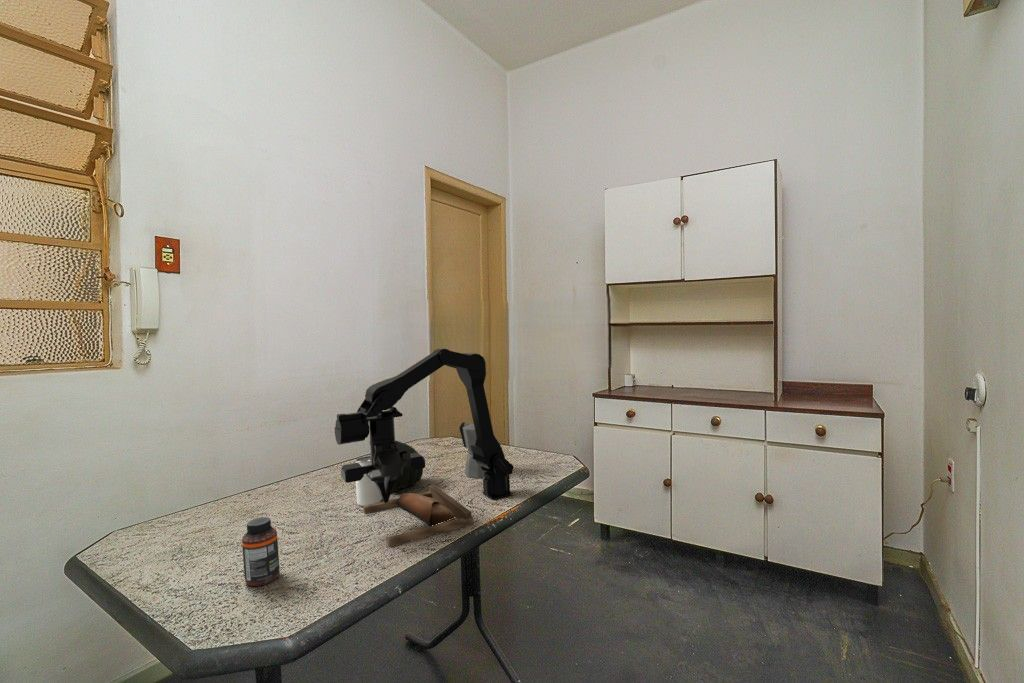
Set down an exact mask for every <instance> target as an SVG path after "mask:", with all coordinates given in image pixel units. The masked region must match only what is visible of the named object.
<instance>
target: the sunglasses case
mask: <svg viewBox="0 0 1024 683" xmlns="http://www.w3.org/2000/svg"><path fill="white" fill-rule="evenodd" d="M419 494H420V493H411V492H410V493H409V492H407V493H402V494H401V495H400V496H399V499H398V505H399V506H398V507H400V508H402V509H404V510H406V511H409V512H410V513H411V514H413V515H414V516H416V517H417V518H419V519H420V520H422V521H423V522H425V523H427V525H429V526H432V525H436V524H438V523H441V522H443V523H445V522H444V521H446V522H448V521H447V520H449V519H452V518H454V517H455V515H454V513H453V512H452V511H450V510H449V509H448V508H446V507H445V506H443V505H441V504H440V503H438V501H437V500H435V499H433V498H430V497H426V496H423V495H419ZM454 519H455V518H454ZM452 520H453V519H452ZM449 521H450V520H449Z"/></svg>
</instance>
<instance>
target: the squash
mask: <svg viewBox="0 0 1024 683" xmlns="http://www.w3.org/2000/svg"><path fill="white" fill-rule="evenodd" d="M395 442H396V445H397V450H398V452H400V451H405V450H409V452H410V453H418V454H419V452H418V451H417V450H416V449H415V448H414V447H413V446H411V445H409V444H406V443H403V442H401V441H398V440H396V439H395ZM423 473H424V468H422V469H417V470H413V469H412V468H411V467H410V466H407V467H403V470H402V475H401V476H399V477H398V478H397V479H396V480H395V482H394V485H393V487H392V491H391V492H397V491H398V490H400V489H402V488H407V487H412V486H414V485H416V484H417V483H418V482H419V481H420V480H421V479H422V476H423Z"/></svg>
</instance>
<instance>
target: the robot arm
mask: <svg viewBox="0 0 1024 683" xmlns="http://www.w3.org/2000/svg"><path fill="white" fill-rule="evenodd" d="M485 359H486V358H484V356H483V355H481V354H479V353H473V352H472V353H470V352H465V353H461V352H457V351H454V350H449V349H447V348H436V349H434V350H433V351H432V352H431V353H430V354H428V355H426V356H425V357H423V359H420V360H419V361H417V362H416V363H415V364H413V365H411V366H410V367H408V368H407V369H405V370H403V371H402V372H400V373H399V374H397V375H395V376H393V377H390V378H386V379H383V380H381V381H378V382H377V383H374V384H372V385H370V386H369V387H368V388H367V389H366V390H365V391H366V392H365V394H364V397H365V398H364V399H363V401H362V403H361V404H360V405H359V407H358V409H357V410H356V412H351V413H338V414H336V421H335V425H334V436H335V440H336V441H335V442H336V444H337V445H346V444H351V443H358V442H363V441H365V439H366V438H368V437H369V446H370V447H369V448H370V456H371V458H370V459H371V465H366V466H361V465H360V464H359V463H356V462H353V463H348V464H343V465H342V466H341V468H340V477H341V478H342V480H343V481H344V483H346V484H347V483H348V484H349V483H356V481H360V480H361V479H362V478H363V477H364V474H366V475H367V477H368V478H369V479H370V480H371V481H374V482H375V484H376V485H377V488H378V490H379V492H380V495H381V497H382V502H384V503H388V501H389V500H390V497H391V494H392V492H393V491H392V487H393V485H394V482H395V480H396V479H397V478H398V477H399V476H401V475H402V470H403V467H407V466H410V467H411V468H412V469H413V470H417V469H422V468H423V469H425V468H426V460H425V457H424V456H423V455H421V454H420V453H419V452H418V453H410V452H409V450H405V451H400V452H398V450H397V445H396V442H395V440H396V434H395V418H400V417H403V415H404V414H403V413H402V412H400V411H399V410H398V409H397V407H396V406H395V405H396V404H397V403H398V402H399V401H400V400H401V399H402V398H403V397H404V395H405V393H406V392H408V391H409V389H411V388H412V387H414V386H416V385H417V384H419V383H420V382H421V381H423V380H424V379H426V378H428V377H429V376H430V375H432V374H433V373H435V372H436V371H438V370H439V369H441V368H442V367H444V366H446V367H449V368H453V369H456V373H457V375H458V377H459V379H460V381H461V382H462V384H463V385H464V387H465V390H466V393H467V394H466V395H467V398H468V403H469V407H470V412H471V417H472V421H473V422H472V424H474V427H475V432H476V443H475V445H471V449H472V452H473V459H474V460H476V463H477V464H479V465H480V467H481V469H482V470H483V471H486V472H485V473H484V478H482V487H483V491H482V494H483V495H484V496H486V497H488V498H489V499H491V500H497V499H502V498H506V497H509V496H512V495H513V496H514V492H513V491H511V478H510V475H512V474H513V471H514V465H513V464H512V463H511V462H510V461H509V460H508V459H506V456H505V453H504V451H503V448H502V446H501V444H500V442H499V441H498V439H497V438H496V436H495V434H494V429H493V424H492V419H491V418H492V417H491V414H490V409H489V404H488V399H487V395H486V391H485V381H486V377H487V364H486V360H485Z"/></svg>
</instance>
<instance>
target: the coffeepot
mask: <svg viewBox="0 0 1024 683" xmlns="http://www.w3.org/2000/svg"><path fill="white" fill-rule="evenodd" d="M458 428H459V432H460V437H461V440H462V444H463V447H464V448H465V449H467V454H466V462H465V467H464V468H465V470H464V475H465V476H466V477H467V478H471V479H484V478H483V477H484V473H485V472H486V471H483V470H482V469H481V467H480V465H479V464H477V463H476V460H474V459H473V452H472V449H471V445H475V443H476V432H475V427H474V423H470V422H464V421H463V422H461V424H460V425H459V427H458Z"/></svg>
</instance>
